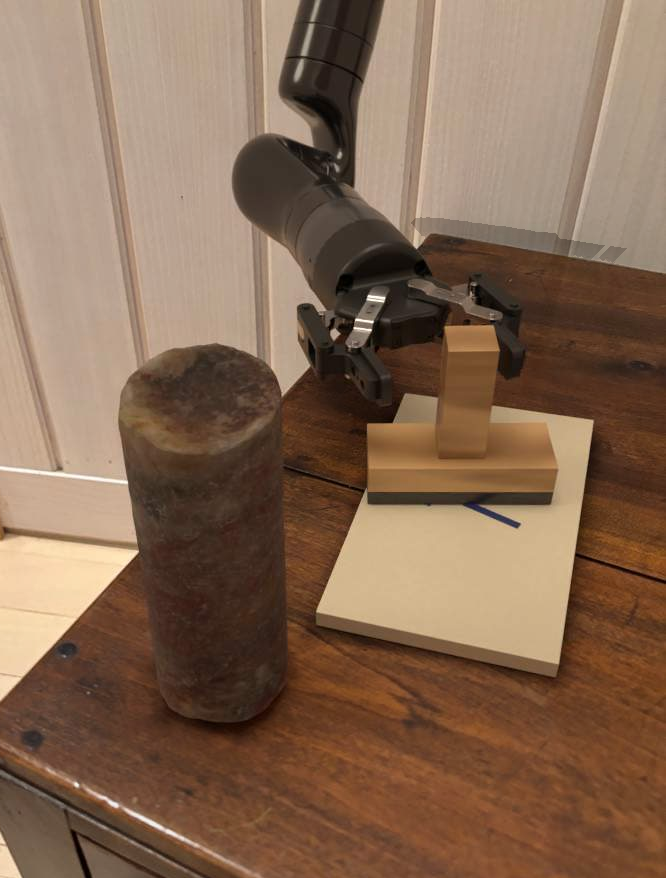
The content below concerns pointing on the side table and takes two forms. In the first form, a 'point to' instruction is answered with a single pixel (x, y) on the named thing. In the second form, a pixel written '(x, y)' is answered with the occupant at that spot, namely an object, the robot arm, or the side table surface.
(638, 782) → the side table surface
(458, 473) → the eraser
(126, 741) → the side table surface
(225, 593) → the dark brown cylinder
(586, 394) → the side table surface
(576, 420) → the board
